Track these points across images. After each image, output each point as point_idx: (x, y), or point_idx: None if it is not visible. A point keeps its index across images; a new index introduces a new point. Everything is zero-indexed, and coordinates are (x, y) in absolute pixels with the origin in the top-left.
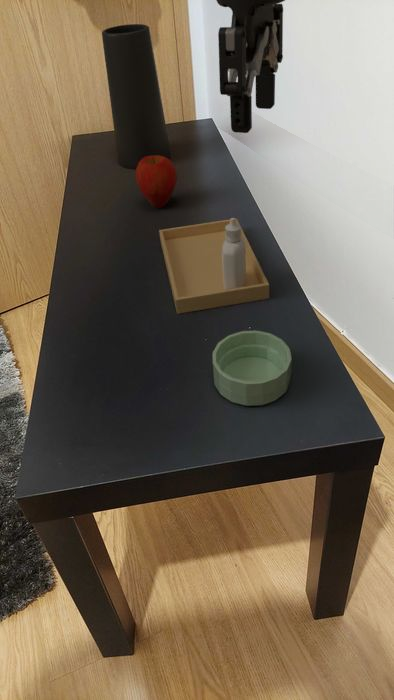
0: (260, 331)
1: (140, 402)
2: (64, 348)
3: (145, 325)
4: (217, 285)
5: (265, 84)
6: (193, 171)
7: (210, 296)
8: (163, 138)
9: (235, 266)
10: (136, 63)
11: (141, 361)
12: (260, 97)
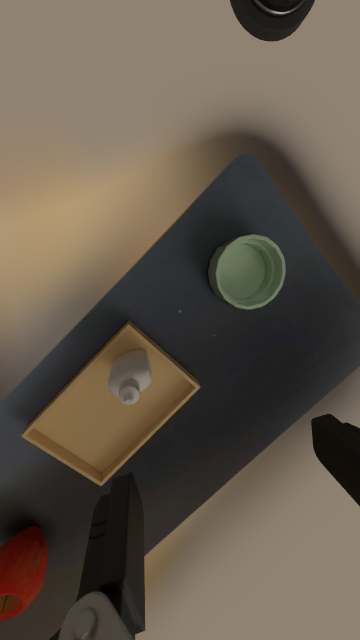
0: (217, 284)
1: (297, 333)
2: (276, 422)
3: (223, 391)
4: None
5: (135, 560)
6: None
7: (175, 364)
8: None
9: (147, 363)
10: None
11: (261, 362)
12: (139, 526)
